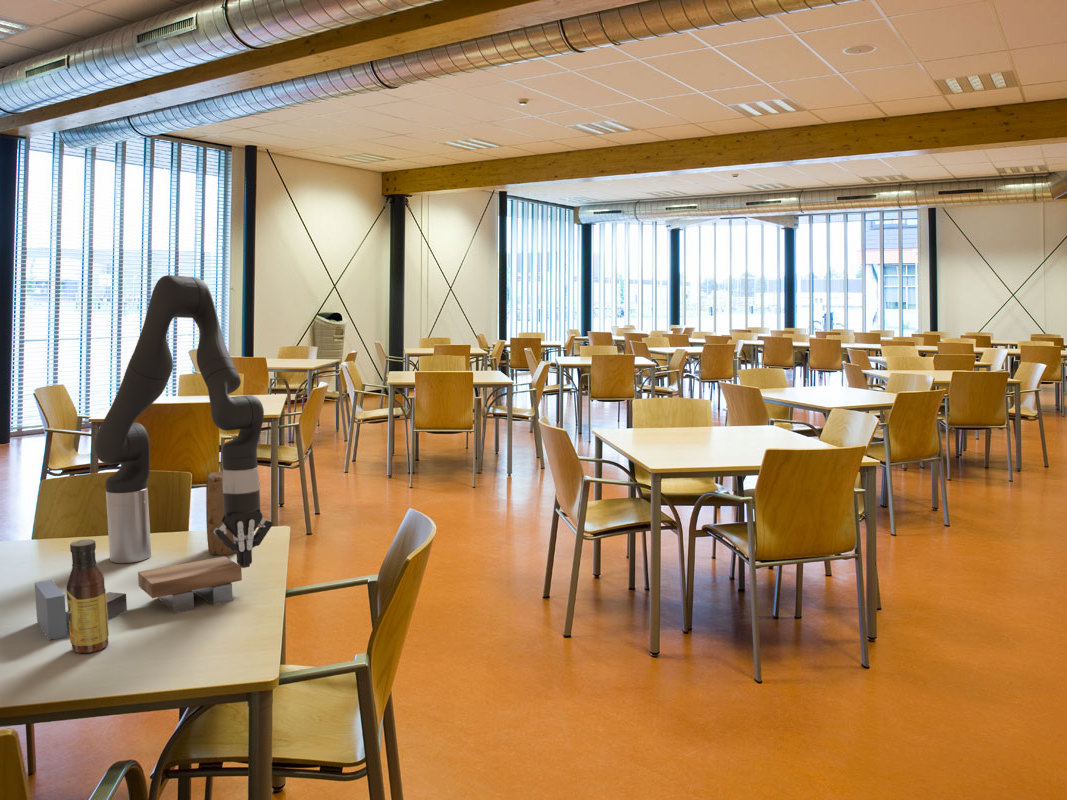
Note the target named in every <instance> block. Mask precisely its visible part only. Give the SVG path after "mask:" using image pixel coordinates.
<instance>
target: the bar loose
mask: <svg viewBox="0 0 1067 800" xmlns="http://www.w3.org/2000/svg"><path fill="white" fill-rule="evenodd" d="M106 602H107V615H108V619H109V620H111V619H113V618H114V617H117V616H119V615H121V614H123V613H125V612H127V611H128V605H127V604H128V603H127V594H126V593H122V592H111V591H109V592H106ZM120 613H121V614H120ZM66 625H67V631H70V630H69V617H68V610H67V611H66Z"/></svg>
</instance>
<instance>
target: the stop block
mask: <svg viewBox="0 0 1067 800" xmlns="http://www.w3.org/2000/svg"><path fill="white" fill-rule="evenodd" d="M34 595H35V609H36V622H38V623H37V624H38V626H39V625H40V626H39V627H40V629H41V628H42V629H41V630H42V632H43V631H44V632H43V634H44V635H45V634H46V635H45V637H46V638H47V637H48V638H47V639H48V641H52V640H51V639H54V640H59V639H62V637H63V638H67V637H68V630H67V625H66V612H67V611H66V610H67V609H66V598H65V595H66V594H65V593H64V592H62V590H61V589H60V588H59V586H57V584H56V583H55V582H54V581H53V579H48V580H42V581H37V582H34ZM58 638H59V639H58Z"/></svg>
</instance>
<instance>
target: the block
mask: <svg viewBox="0 0 1067 800" xmlns="http://www.w3.org/2000/svg"><path fill="white" fill-rule="evenodd" d="M205 479H206V480H205V481H206V484H205V486H206V487H205V488H206V489H205V490H206V491H205V499H206V500H205V504H206V505H205V508H206V512H205V513H206V515H205V517H206V539H207V549H208V553H209V554H210V555H212V556H213V555H214V556H226V555H229V556H230V555H231V554H232V555H233V554H234V553H236V550H231V549H230V548H228V547H227V546H226V545H225V544H224V543H223V542H222V541H221V540H220V539H219V538H218V537H217V536H216V535H215V534H214V533H213V531H212V530H213V529H214V528H217V527H218V526H219V525H220V524H222V518H223V516H224V504H223V482H222V479H223V470H220V471H212V472H209V473H208V474H207V475H206V478H205ZM225 529H226V531H227V533H226V534H225V535H226V536H227V537H228V538H229V539H230V540H231V541H232V542H233V543H235V542H234V538H233V534H232V533H231V532H230V531H229V530H228V529H227V528H225Z"/></svg>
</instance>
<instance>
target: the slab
mask: <svg viewBox="0 0 1067 800" xmlns="http://www.w3.org/2000/svg"><path fill="white" fill-rule="evenodd" d="M137 579H138V580H137V581H138V587H139V588H140V589H141V590H142V591H144V592H145V593H146V594H147V595H148V596H149V597H150V598H152V599H158V597H162V596H167V595H172V594H177V593H182V592H187V591H192V590H197V589H202V588H207V587H212V586H217V585H222V584H227V583H232V584H233V583H237V582H241V581H242V580H243V576H242V567H241V566H240V565H238V564H237V562H235V561H233V560H232V559H230V558H229V557H226V555H222V556H218V557H214V558H213V557H211V558H207V559H201V560H196V561H192V562H191V561H190V562H186V563H180V564H175V565H169V566H164V567H163V566H162V567H158V568H153V569H147V570H142V571H138V572H137Z"/></svg>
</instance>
